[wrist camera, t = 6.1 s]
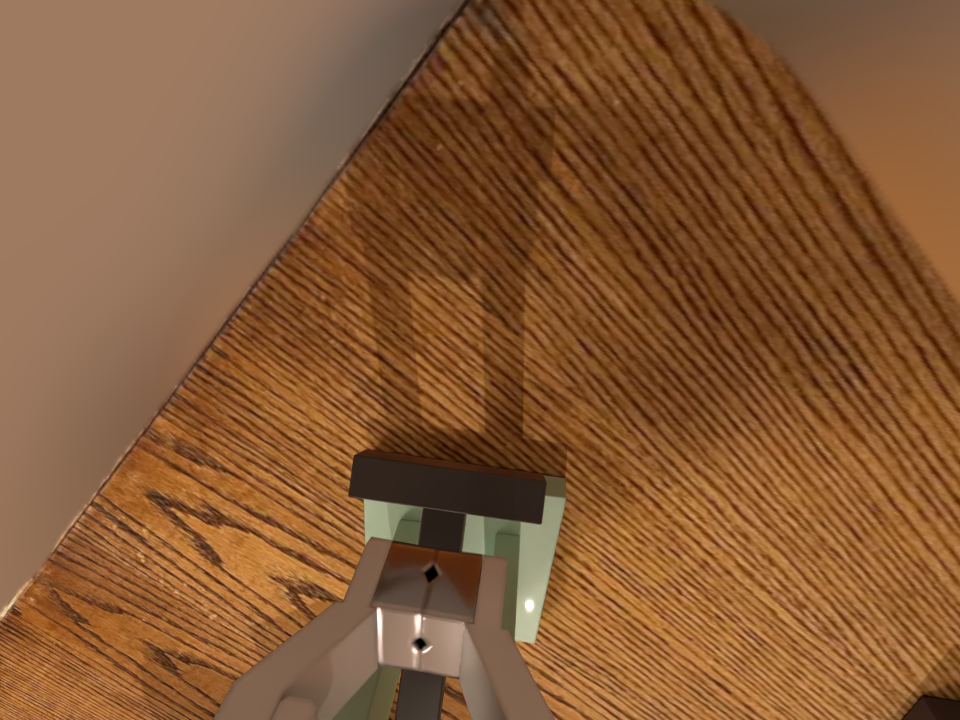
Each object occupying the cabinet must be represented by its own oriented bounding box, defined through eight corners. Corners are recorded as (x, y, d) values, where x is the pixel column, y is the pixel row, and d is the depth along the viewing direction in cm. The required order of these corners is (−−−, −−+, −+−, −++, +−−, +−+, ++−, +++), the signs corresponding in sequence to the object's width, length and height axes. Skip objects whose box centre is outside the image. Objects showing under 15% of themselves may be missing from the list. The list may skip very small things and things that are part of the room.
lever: (371, 446, 15) (345, 458, 12) (542, 469, 15) (549, 487, 12) (314, 865, 14) (276, 961, 12) (488, 898, 14) (485, 1004, 12)
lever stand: (371, 450, 21) (171, 863, 10) (565, 477, 21) (592, 944, 9) (374, 595, 25) (236, 1001, 14) (535, 620, 25) (528, 1061, 13)
